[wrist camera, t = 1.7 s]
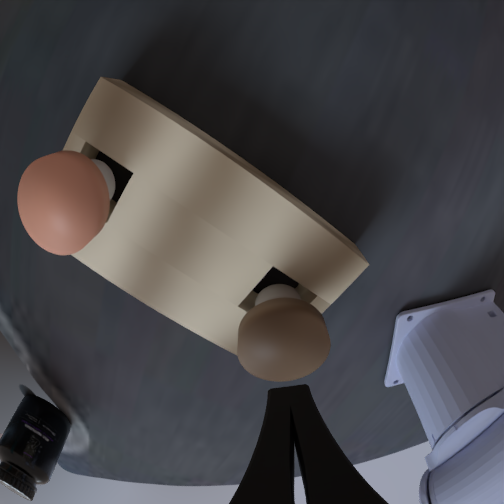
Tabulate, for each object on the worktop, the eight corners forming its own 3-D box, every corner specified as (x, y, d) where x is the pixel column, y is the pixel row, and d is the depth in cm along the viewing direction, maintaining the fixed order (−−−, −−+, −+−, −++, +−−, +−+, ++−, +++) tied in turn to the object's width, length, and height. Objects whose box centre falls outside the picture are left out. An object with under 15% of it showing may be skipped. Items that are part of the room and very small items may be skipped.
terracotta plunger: (120, 132, 12) (81, 142, 9) (139, 215, 14) (110, 247, 11) (52, 155, 12) (7, 172, 9) (73, 229, 14) (36, 260, 11)
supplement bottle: (60, 401, 25) (21, 490, 14) (79, 433, 28) (52, 512, 17) (15, 386, 25) (-26, 462, 14) (36, 419, 28) (6, 489, 17)
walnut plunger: (314, 264, 15) (330, 307, 12) (317, 327, 17) (329, 374, 14) (233, 275, 15) (228, 321, 12) (246, 337, 17) (245, 385, 14)
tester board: (355, 244, 18) (369, 264, 15) (261, 341, 21) (262, 368, 18) (121, 80, 13) (100, 76, 11) (56, 212, 16) (34, 227, 14)
